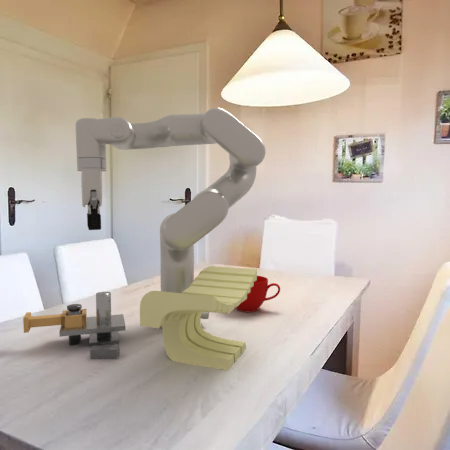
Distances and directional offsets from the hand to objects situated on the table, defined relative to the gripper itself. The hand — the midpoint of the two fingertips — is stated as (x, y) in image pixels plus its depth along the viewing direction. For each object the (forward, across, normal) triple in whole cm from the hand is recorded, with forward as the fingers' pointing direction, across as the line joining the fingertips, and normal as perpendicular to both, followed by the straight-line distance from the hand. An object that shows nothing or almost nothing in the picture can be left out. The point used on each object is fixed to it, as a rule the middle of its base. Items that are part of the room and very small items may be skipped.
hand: (94, 228), depth 109 cm
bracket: (+23, +11, -10) cm, 27 cm away
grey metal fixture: (+28, +11, -1) cm, 30 cm away
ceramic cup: (+29, -1, +48) cm, 56 cm away
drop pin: (+28, +11, -6) cm, 30 cm away
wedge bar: (+28, +22, +1) cm, 36 cm away
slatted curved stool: (+28, +28, +23) cm, 46 cm away
